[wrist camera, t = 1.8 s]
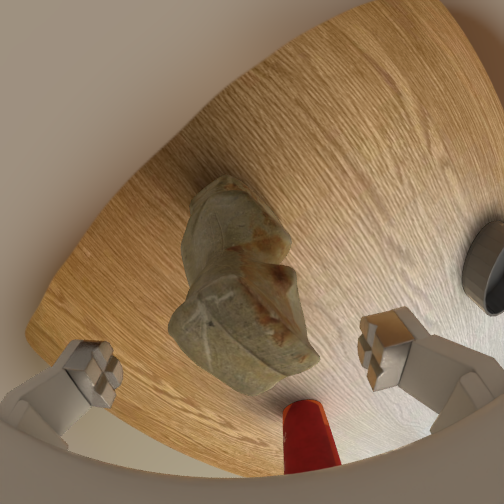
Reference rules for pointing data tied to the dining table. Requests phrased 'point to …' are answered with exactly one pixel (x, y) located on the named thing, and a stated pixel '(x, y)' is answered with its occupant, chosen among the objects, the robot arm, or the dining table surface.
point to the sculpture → (240, 292)
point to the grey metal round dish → (486, 269)
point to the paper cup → (307, 438)
